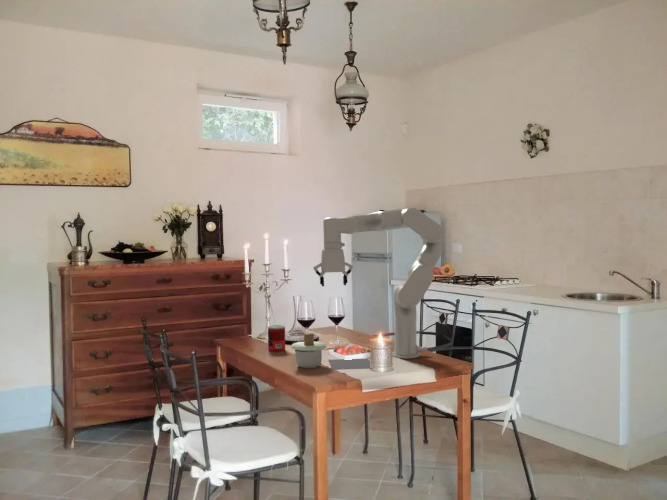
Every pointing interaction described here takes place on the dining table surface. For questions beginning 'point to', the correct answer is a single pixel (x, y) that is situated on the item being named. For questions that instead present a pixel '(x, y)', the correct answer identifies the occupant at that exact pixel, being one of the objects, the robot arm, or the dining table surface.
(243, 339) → the dining table surface
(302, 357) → the teacup
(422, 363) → the dining table surface
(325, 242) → the robot arm
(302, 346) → the lid
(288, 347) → the dining table surface
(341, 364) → the mat
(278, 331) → the canned food
